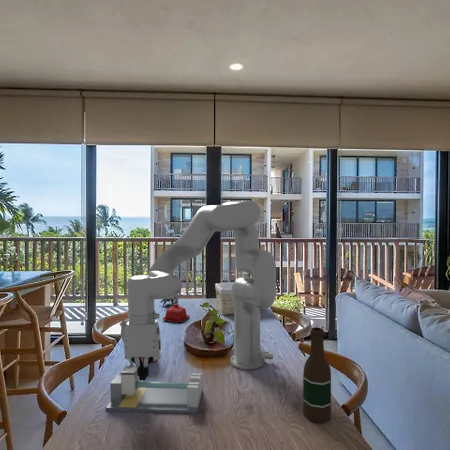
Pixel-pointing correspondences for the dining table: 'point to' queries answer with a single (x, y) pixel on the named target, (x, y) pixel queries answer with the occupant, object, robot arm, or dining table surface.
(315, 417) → the beer bottle
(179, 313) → the butter dish
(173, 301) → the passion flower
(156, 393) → the cable rig
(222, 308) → the storage basket
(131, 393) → the sleeve
